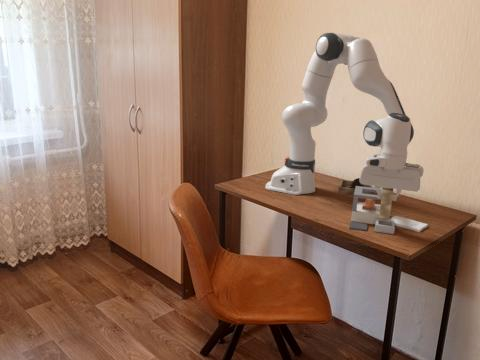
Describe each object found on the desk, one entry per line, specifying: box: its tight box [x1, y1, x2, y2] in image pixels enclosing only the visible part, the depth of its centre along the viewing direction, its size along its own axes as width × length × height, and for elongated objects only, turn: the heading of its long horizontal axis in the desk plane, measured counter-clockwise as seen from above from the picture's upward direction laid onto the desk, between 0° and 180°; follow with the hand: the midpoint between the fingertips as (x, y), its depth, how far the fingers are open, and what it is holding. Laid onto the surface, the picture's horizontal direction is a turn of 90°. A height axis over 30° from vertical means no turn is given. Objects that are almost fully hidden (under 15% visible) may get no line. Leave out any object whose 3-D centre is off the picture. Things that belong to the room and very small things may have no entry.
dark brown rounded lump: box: [347, 177, 364, 189], centre depth 210 cm, size 8×8×7 cm
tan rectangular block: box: [379, 187, 394, 221], centre depth 165 cm, size 4×4×11 cm
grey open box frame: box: [350, 186, 383, 225], centre depth 176 cm, size 12×12×10 cm
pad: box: [349, 221, 368, 232], centre depth 168 cm, size 6×6×1 cm
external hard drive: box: [389, 215, 429, 233], centre depth 173 cm, size 2×8×12 cm
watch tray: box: [337, 179, 372, 196], centre depth 213 cm, size 14×14×2 cm
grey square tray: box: [374, 219, 396, 235], centre depth 167 cm, size 6×6×2 cm
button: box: [364, 198, 376, 210], centre depth 176 cm, size 4×4×4 cm
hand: (386, 199), depth 164 cm, fingers closed on tan rectangular block, 3 cm apart
